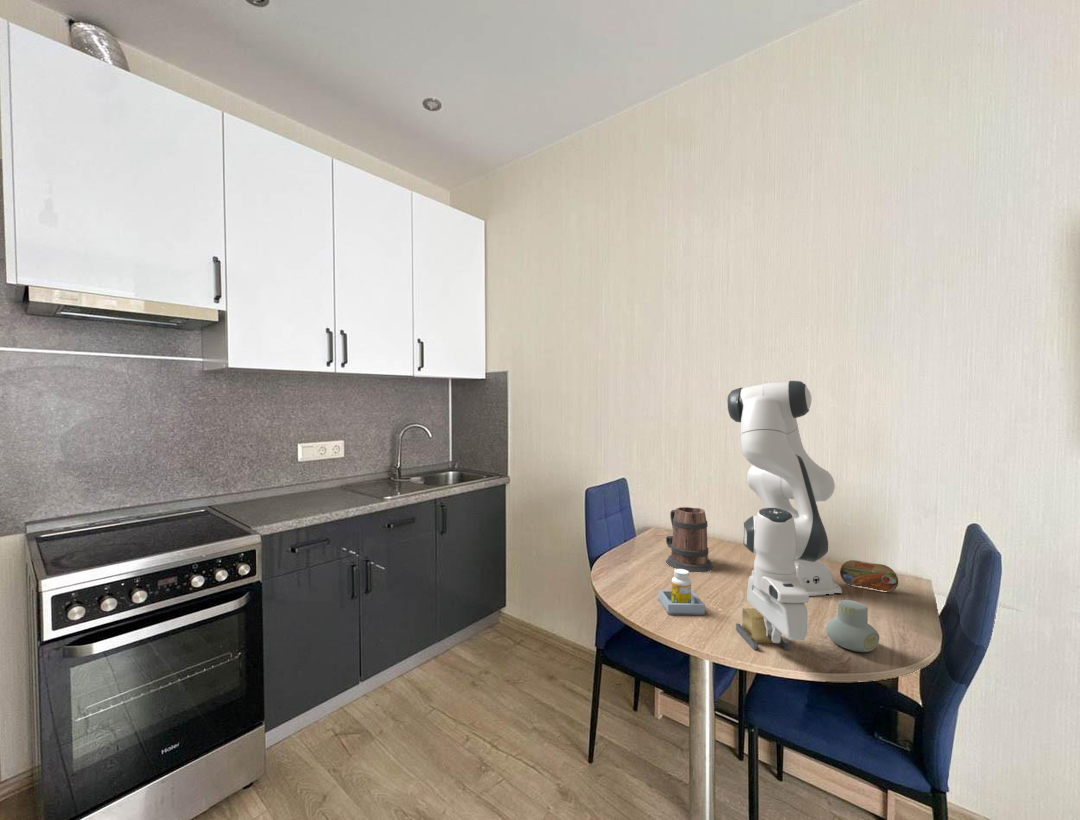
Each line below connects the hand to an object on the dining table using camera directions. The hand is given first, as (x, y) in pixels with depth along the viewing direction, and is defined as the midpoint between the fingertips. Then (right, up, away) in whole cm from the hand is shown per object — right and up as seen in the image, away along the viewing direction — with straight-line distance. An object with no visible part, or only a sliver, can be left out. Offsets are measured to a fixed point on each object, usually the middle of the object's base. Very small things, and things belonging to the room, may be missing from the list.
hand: (773, 639), depth 106 cm
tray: (-14, -3, +24) cm, 28 cm away
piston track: (0, -3, +10) cm, 10 cm away
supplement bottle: (-14, -2, +24) cm, 28 cm away
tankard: (0, -3, +64) cm, 64 cm away
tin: (+51, -4, +40) cm, 65 cm away
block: (0, -3, +7) cm, 7 cm away
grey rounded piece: (+21, -4, +4) cm, 22 cm away
